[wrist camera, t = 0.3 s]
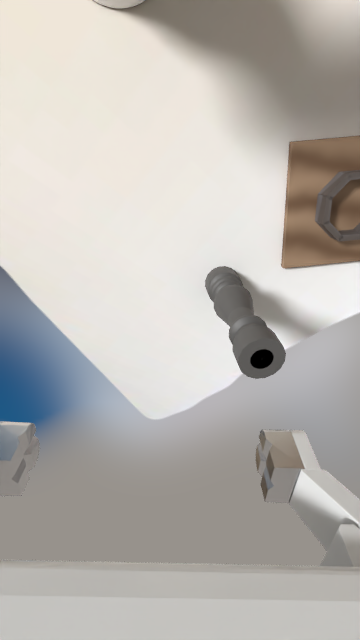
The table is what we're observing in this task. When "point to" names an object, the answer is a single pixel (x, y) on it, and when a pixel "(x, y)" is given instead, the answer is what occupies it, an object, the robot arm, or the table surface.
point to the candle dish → (322, 202)
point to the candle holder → (244, 325)
